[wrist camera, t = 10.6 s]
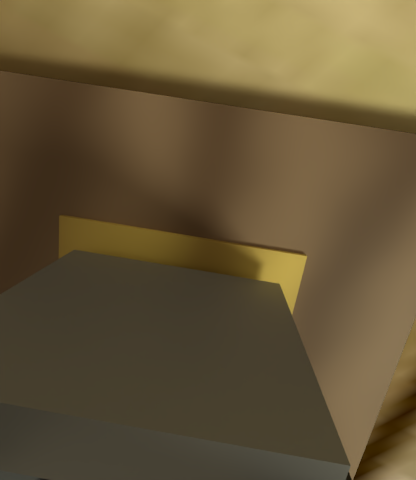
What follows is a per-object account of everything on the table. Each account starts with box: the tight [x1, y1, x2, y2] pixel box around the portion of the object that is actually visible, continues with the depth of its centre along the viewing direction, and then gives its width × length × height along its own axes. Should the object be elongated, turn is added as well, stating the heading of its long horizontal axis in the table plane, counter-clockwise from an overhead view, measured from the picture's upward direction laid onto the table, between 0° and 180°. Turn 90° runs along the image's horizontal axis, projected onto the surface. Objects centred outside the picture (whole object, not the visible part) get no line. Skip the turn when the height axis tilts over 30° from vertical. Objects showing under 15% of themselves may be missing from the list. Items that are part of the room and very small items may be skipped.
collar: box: [0, 250, 351, 480], centre depth 9 cm, size 8×8×7 cm
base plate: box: [0, 71, 416, 480], centre depth 14 cm, size 20×20×2 cm
